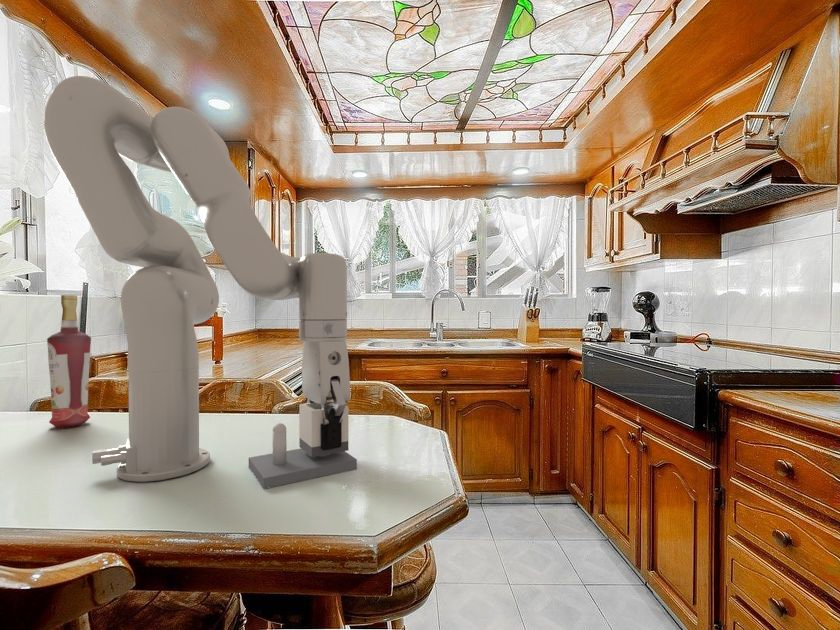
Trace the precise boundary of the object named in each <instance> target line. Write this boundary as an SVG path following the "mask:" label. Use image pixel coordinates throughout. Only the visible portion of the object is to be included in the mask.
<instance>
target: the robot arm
mask: <svg viewBox="0 0 840 630" xmlns="http://www.w3.org/2000/svg"><path fill="white" fill-rule="evenodd" d="M43 128H44V135H45V137H46V141H47V145H48V146H49V149H50V151H51V153H52V155H53V157H54V159H55V161H56V163H57V165H58V167H59V168H60V170H61V172H62V174H63V176H64V177H65V178H66V181H67V182H68V184H69V185H70V187H71V190H72V191H73V193H74V195H75V198H76V199H77V201H78V203H79V206H80V207H81V209H82V212H83V213H84V215H85V217H86V218H87V220H88V222H89V225H90V226H91V228H92V230H93V232H94V234H95V236H96V238H97V240H98V242H99V243H100V246H101V247H102V248H103V250H104V252H105V254H106V255H108V256H109V257H110V258H111V259H113V260H115V261H116V262H118V263H122V264H126V265H129V266H135V267H140V269H138V270H136V271H134V272H132V274H130V275H129V277H128V278H127V279H126V280H125V282H124V283H123V286H122V288H121V289H122V290H121V292H120V306H121V307H120V308H121V314H122V318H123V322H124V323H123V324H124V327H125V332H126V334H125V335H126V341H127V359H128V360H127V361H128V363H127V364H128V365H127V366H128V438H127V439H126V444H119V445H118V447H117V448H109V449H108V448H104V449H97V450H93V451H92V453H91V455H92V456H91V457H92V459H91V463H92V465H96V464H100V465H101V466H108V465H113V464H118V466H117V467H116V476H117V478H119V479H121V480H123V481H127V482H137V483H138V482H139V483H141V482H142V483H144V482H154V481H156V482H157V481H163V480H169V479H174V478H178V477H182V476H185V475H189V474H193V473H195V472H196V471H199V470H201V469H203V468H204V467H205V466H207V465H208V464H209V463H210V461H211V454H210V452H209V450H207V449H204V448H200V399H199V398H200V386H199V385H200V379H199V377H200V372H199V371H200V367H199V366H200V365H199V364H200V363H199V361H200V360H199V359H200V358H199V355H200V354H199V344H198V340H197V339H198V338H197V333H196V330H195V326H196V325H199V324H202V323H205V322H206V321H208V320H210V318H212V317H213V316H214V315H215V314H216V312H217V309H218V307H219V303H220V295H219V289H218V287H217V285H216V282H215V279H214V278H213V276H212V273H211V272H210V270H209V269H208V267H207V264H206V263H205V261H204V258H203V256H202V255H201V252H200V251H199V249H198V247H197V245H196V243H195V241H194V240H193V238H192V237H191V235H190V234H189V232H188V231H187V230H186V228H185V227H183V226H182V224H180V223H179V222H178V221H177V220H175V219H173V218H171V217H170V216H167V215H165V214H163V213H161V212H159V211H157V210H156V209H155V208H154V207H153V206H152V205H151V204H150V202H149V201H148V199H147V197H146V196H145V194H144V192H143V190H142V189H141V187H140V185H139V182H138V180H137V178H136V176H135V174H134V173H133V171H132V170H131V168H130V167H129V166H128V164H127V163H126V161H124V159H126V160H128V161H131V162H134V163H135V164H139V165H143V166H145V167H148V168H154V169H157V170H160V171H165V172H168V173H172V174H173V175H174V177H175V178H176V180H177V181H178V182H179V184H180V186H181V187H182V188H183V190H184V191H185V193H186V195H187V196H188V198H189V199H190V200H191V202H192V203H193V205H194V207H195V208H196V210H197V211H198V213H199V216H200V220H201V222H202V225H203V227H204V230H205V233H206V235H207V237H208V239H209V243H211V245H212V248H213V250H214V251H215V252H216V253H217V255H218V257H219V258H220V260H221V262H222V263H223V264H224V265H225V267H226V269H227V270H228V272H229V273H230V274H231V276H232V277H233V279H234V280H235V282H236V283H237V284H238V285H239V286H240V288H241V289H243V290H244V291H245V293H247V294H248V295H251V296H252V297H255V298H259V299H266V300H267V299H268V300H271V301H272V300H274V301H283V300H293V299H297V298H298V341H300V342H303V345H302V346H303V348H302V358H301V359H302V360H301V361H302V362H301V363H302V364H301V390H302V394H303V396H304V397H305V402H306V403H313V402H315V403H317V404H319V405H321V410H322V418H323V424H321V449H322V450H330V449H335V448H340V447H341V445H342V420H343V419H342V415H343V412H344V411H343V410H344V409H345V407H346V406H347V403H348V402H349V401H350V399H351V379H350V376H351V375H350V364H349V363H350V362H349V353H348V345H347V342H346V341H347V340H348V337H347V336H348V305H347V304H348V265H347V260H346V258H345V257H343V256H342V255H339V254H336V253H330V252H328V253H327V252H314V253H313V252H312V253H307V254H304V255H302V257H299V256H298V257H297V256H296V257H295V256H290V255H286V254H285V253H284V252H281V251H280V250H279V248H278V247H277V246H276V245H275V243H274V242H273V240H272V239H271V237H270V236H269V234H268V233H267V231H266V229H265V228H264V227H263V225H262V223H261V222H260V220H259V219H258V217H257V215H256V213H255V211H254V209H253V206H252V204H251V196H252V192H251V189H250V187H249V185H248V184H247V182H246V181H245V179H244V178H243V176H242V175H241V173H240V171H239V170H238V169H237V168H236V166H235V165H234V162H233V161H232V160H231V158H230V151H229V148H228V146H227V144H226V142H225V141H224V139H223V138H222V137H221V136H220V134H218V133H217V132H216V131H215V130H214V129H213V127H211V126H210V124H208V123H207V121H205V120H204V119H203V118H202V117H201V116H200V115H198V113H196V112H194V111H192V110H191V109H188V108H185V107H181V106H169V107H165V108H163V109H161V110H159V111H158V112H157V113H155V115H154V116H151V114H148V113H147V112H146V111H145V110H144V109H143V108H141V107H140V106H139V105H137V104H136V103H135V101H132V100H131V99H130V98H129V97H127V95H125V94H124V93H123V92H121V91H120V90H118V89H117V88H115V87H114V86H112V85H110V84H108V83H106V82H105V81H102V80H100V79H98V78H94V77H91V76H87V75H86V76H85V75H84V76H83V75H74V76H70V77H66V78H64V79H63V80H61V81H60V82H58V84H57V85H56V86H55V87H54V88H53V90H52V91H51V93H50V94H49V96H48V98H47V101H46V105H45V108H44V115H43ZM122 157H123V158H124V159H123V158H122ZM194 325H195V326H194ZM330 400H333V401H334V402H330V403H326V402H327V401H330ZM329 407H333V408H332V409H330V411H329V413H328V410H327V408H329Z"/></svg>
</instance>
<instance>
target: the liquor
mask: <svg viewBox="0 0 840 630" xmlns="http://www.w3.org/2000/svg"><path fill="white" fill-rule="evenodd" d="M60 299H61V300H60V303H61V307H62V308H61V309H62V315H61V320H60V321H61V323H60V324H61V325H60V331H58V332H56V333H54V334H51V335H50V336H49V337H47V338H46V342H47V344H46V345H47V356H48V357H47V358H48V359H47V360H48V370H49V372H48V374H49V380H50V382H49V383H50V384H49V385H50V398H51V400H50V401H51V402H50V403H51V419H50V420H49V421H48V422H49V424H50V425H52V426H53V427H55V428H57V429H69V428H70V429H71V428H76V427H81V426H82V425H84V424H85V423H87V421H88V420H89V419H90V418H91V416H90V415H89V413H88V411H89V408H88V406H89V405H88V404H89V381H90V379H89V378H90V376H89V375H90V365H91V347H92V346H91V344H92V343H91V342H92V337H91V336H90V335H88V334H86V333H85V332H81V331H79V325H78V318H77V305H78V295H74V294H73V295H69V294H68V295H67V294H66V295H65V294H64V295H63V294H61V296H60Z"/></svg>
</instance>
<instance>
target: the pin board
mask: <svg viewBox="0 0 840 630" xmlns="http://www.w3.org/2000/svg"><path fill="white" fill-rule="evenodd" d="M357 461H358V459H357V458H356V457H354V456H353V455H351V454H350V453H348V452H347V451H343V452H337V453H332V454H327V455H321V456H316V457H311V456H310V455H308V454H307V453H306V452H305V451H304V450H303V449H301V448H295V449H290V450H287V427H286V425H285V423H281V422H280V423H279V422H278V423H276V424H274V426H273V427H272V453H269V454H267V453H266V454H263V455H256V456H251V457H248V469H249V470H250V469H251V470H250V472H251V473H252V472H253V473H254V474H253V473H252V474H253V476H254V475H255V476H256V477H255V476H254V477H255V478H257V479H258V480H257V479H256V480H257V481H258V483H259V482H260V483H259V485H260V486H261V485H262V486H261V487H262V488H266V489H269V488H268V487H271V488H275V487H274V486H276V487H279V486H278V485H280V486H284V484H285V485H289V484H293V483H298V482H302V481H307V480H311V479H312V480H313V479H316V478H321V477H325V476H331V475H334V474H339V473H344V472H349V471H353V470H357V469H358V468H357V467H358V462H357Z"/></svg>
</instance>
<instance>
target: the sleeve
mask: <svg viewBox="0 0 840 630" xmlns="http://www.w3.org/2000/svg"><path fill="white" fill-rule="evenodd" d="M326 401H327V402H326V403H330V402H334V401H333V399H330V400H326ZM332 408H333V407H329V408H327V410H328V413H329V411H330V409H332ZM298 410H299V416H298V417H299V420H298V422H299V436H298V437H299V442H298V444H299V449H303V450H304V451H305V452H306V453H307V454H308V455H310V456H311V457H316V456H321V455H327V454H332V453H337V452H343V451H345V452H347V451H349V406H348V405H346V407H345V409H344V410H343V411H344V412H343V415H342V419H343V420H342V445H341V447H340V448H335V449H330V450H322V449H321V424H323V418H322V410H321V405H319V404H317V403H315V402H313V403H307V402H306V403H300V404H299V409H298Z"/></svg>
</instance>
